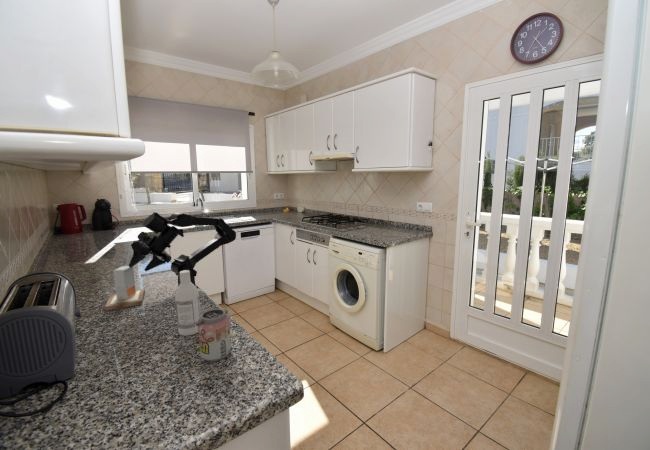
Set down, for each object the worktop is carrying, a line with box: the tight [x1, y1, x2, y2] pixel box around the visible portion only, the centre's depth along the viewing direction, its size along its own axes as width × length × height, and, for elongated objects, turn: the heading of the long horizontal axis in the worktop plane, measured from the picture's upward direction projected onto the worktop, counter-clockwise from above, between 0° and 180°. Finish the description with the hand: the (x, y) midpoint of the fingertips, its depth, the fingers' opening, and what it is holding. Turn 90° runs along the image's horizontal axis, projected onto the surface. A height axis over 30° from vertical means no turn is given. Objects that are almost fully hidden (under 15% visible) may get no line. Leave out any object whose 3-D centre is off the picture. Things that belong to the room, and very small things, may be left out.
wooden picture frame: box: [104, 288, 146, 311], centre depth 122 cm, size 12×14×2 cm
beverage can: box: [195, 308, 232, 362], centre depth 84 cm, size 9×8×12 cm
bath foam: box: [174, 270, 202, 337], centre depth 96 cm, size 7×7×20 cm
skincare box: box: [112, 265, 137, 299], centre depth 121 cm, size 6×4×12 cm
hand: (137, 268), depth 122 cm, fingers open, 9 cm apart
